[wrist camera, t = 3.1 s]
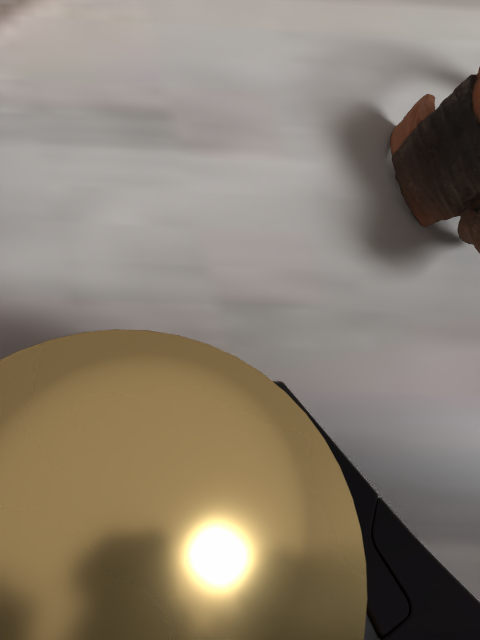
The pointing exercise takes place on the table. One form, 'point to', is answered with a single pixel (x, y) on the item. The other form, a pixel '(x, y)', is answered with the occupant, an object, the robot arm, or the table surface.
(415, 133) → the pottery mug
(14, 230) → the table surface
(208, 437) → the brass cylinder
